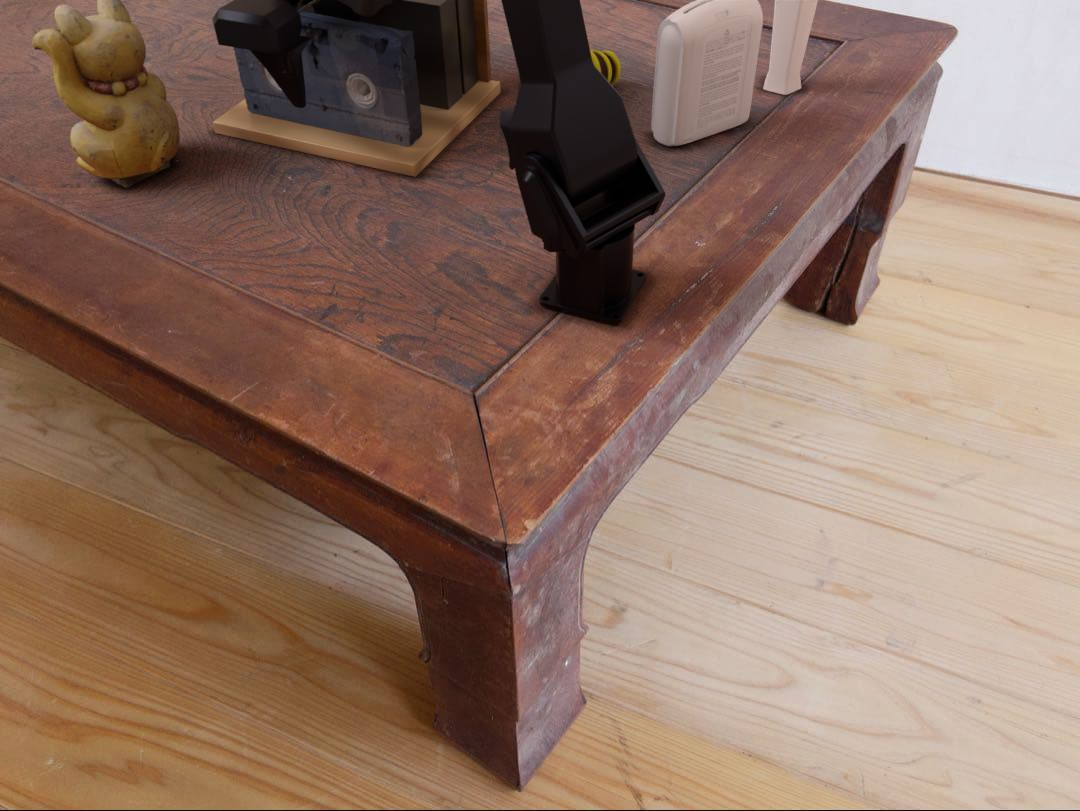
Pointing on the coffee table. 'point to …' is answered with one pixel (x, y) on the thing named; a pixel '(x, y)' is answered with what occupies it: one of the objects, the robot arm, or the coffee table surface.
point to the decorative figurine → (110, 93)
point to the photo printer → (705, 69)
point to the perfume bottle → (789, 44)
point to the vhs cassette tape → (345, 81)
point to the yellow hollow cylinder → (606, 65)
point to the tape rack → (443, 78)
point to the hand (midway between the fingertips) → (322, 90)
